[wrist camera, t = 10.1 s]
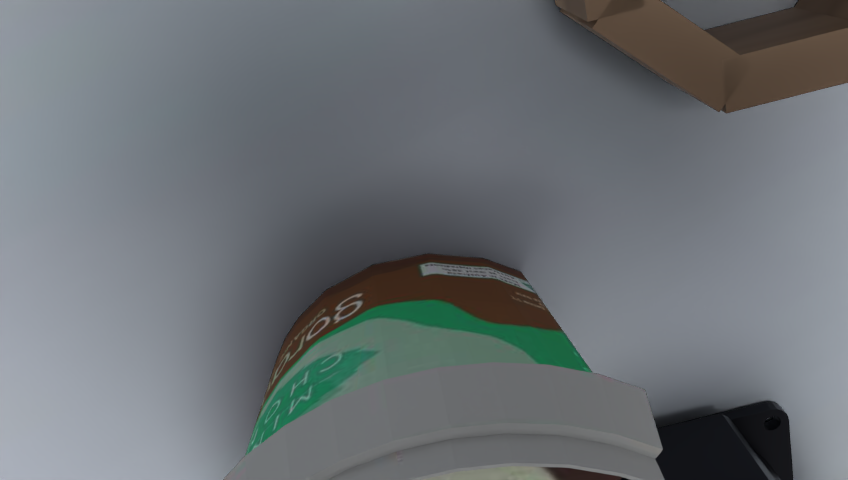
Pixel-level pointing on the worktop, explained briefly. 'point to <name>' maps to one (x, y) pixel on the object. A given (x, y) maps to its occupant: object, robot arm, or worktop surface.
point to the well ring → (727, 48)
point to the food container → (443, 386)
